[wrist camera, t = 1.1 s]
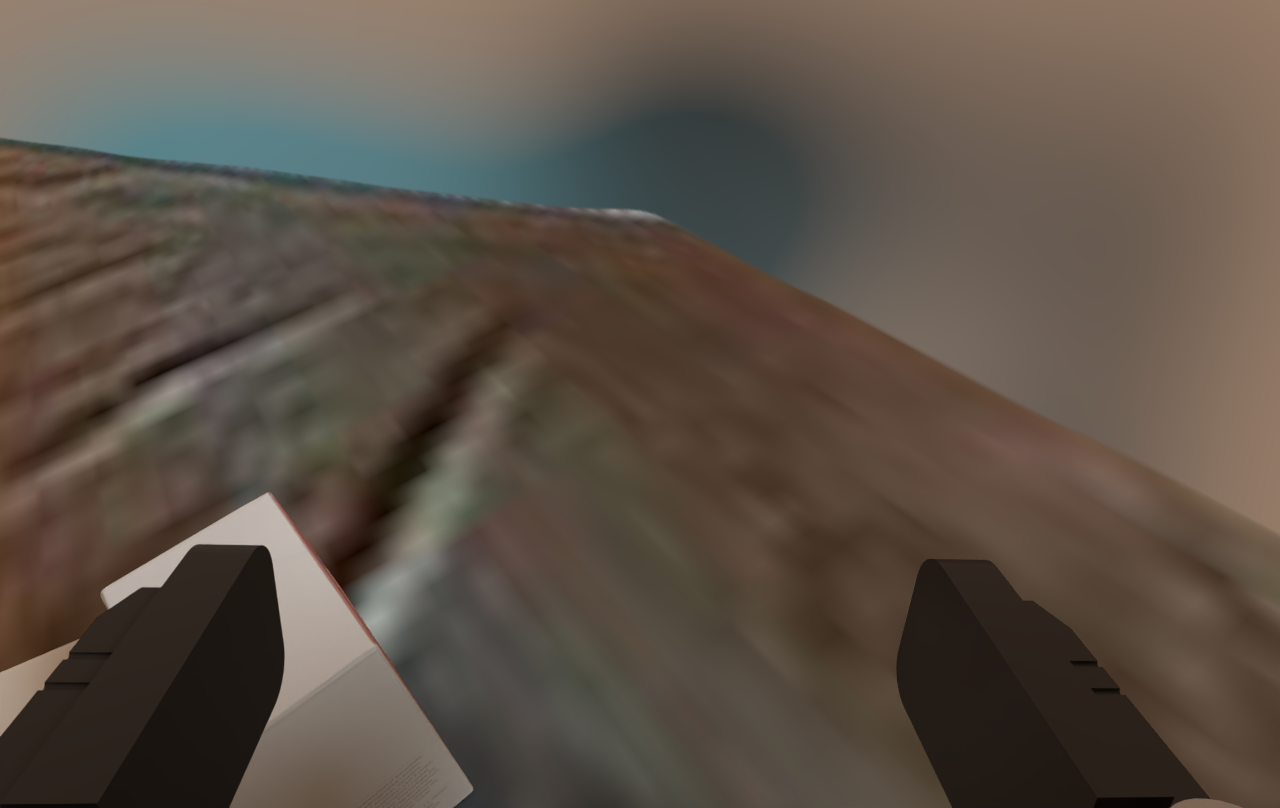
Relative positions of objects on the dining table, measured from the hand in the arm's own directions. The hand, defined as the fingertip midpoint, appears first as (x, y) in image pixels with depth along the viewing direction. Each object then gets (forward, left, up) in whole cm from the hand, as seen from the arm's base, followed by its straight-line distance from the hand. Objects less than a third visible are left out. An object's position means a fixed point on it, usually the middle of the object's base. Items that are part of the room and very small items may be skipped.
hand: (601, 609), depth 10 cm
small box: (+8, -11, -21) cm, 25 cm away
